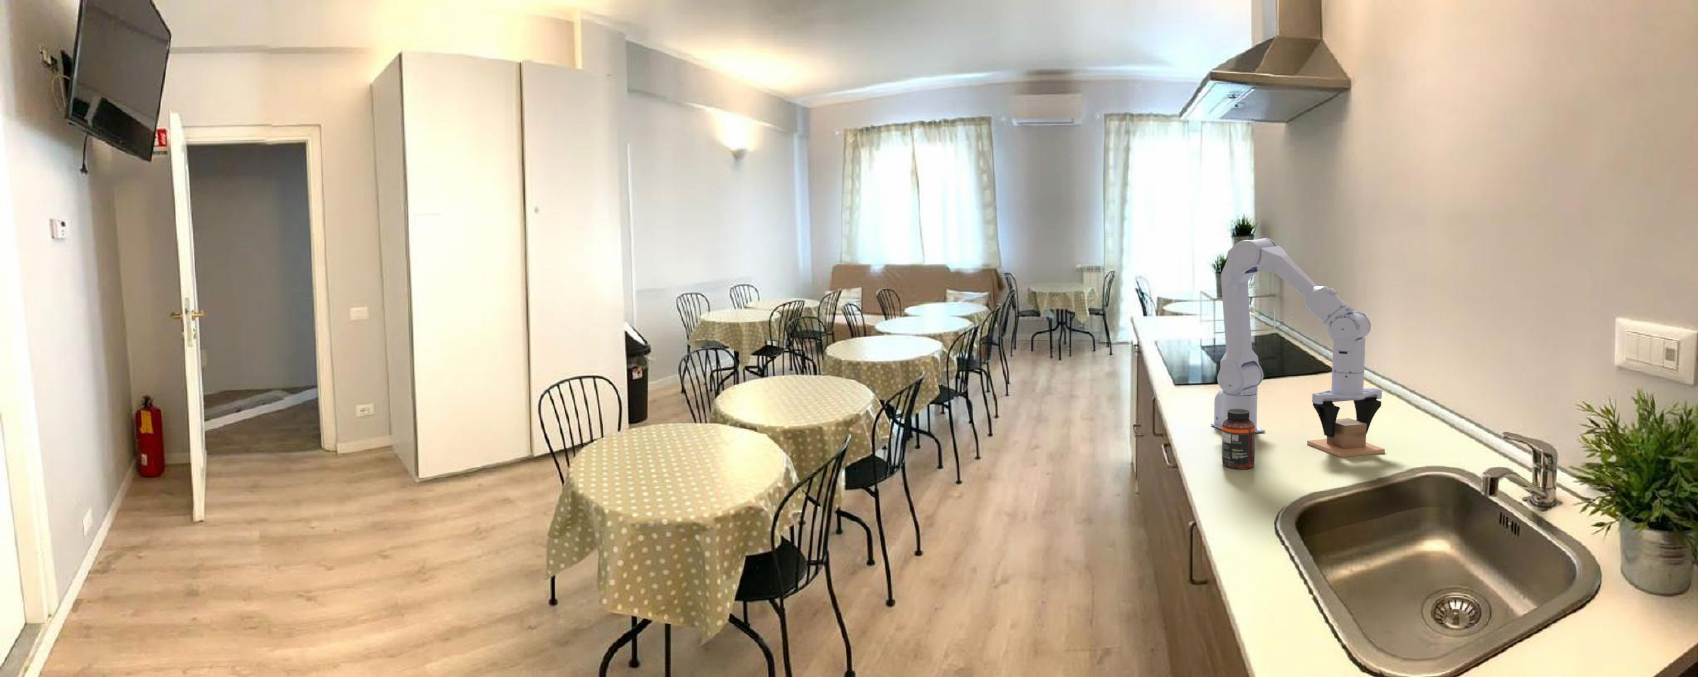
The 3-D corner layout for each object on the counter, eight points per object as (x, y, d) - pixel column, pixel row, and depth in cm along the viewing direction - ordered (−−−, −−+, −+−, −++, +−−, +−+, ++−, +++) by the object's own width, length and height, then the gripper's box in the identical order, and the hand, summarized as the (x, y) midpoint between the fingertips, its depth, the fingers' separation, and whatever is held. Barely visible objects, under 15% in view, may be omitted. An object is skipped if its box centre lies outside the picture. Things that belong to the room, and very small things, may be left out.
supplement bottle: (1247, 460, 170) (1248, 406, 169) (1259, 469, 164) (1260, 413, 163) (1217, 461, 171) (1218, 407, 169) (1227, 470, 165) (1228, 414, 163)
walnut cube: (1326, 442, 177) (1327, 420, 176) (1348, 440, 178) (1348, 418, 177) (1343, 449, 172) (1344, 425, 171) (1365, 447, 173) (1366, 423, 172)
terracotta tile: (1307, 444, 179) (1307, 440, 179) (1349, 440, 181) (1349, 436, 181) (1340, 457, 170) (1340, 453, 169) (1384, 452, 171) (1384, 449, 171)
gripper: (1329, 377, 168) (1327, 442, 170) (1394, 371, 170) (1391, 436, 172) (1306, 370, 175) (1304, 433, 177) (1368, 365, 177) (1365, 428, 179)
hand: (1345, 434), depth 175 cm, fingers open, 7 cm apart
